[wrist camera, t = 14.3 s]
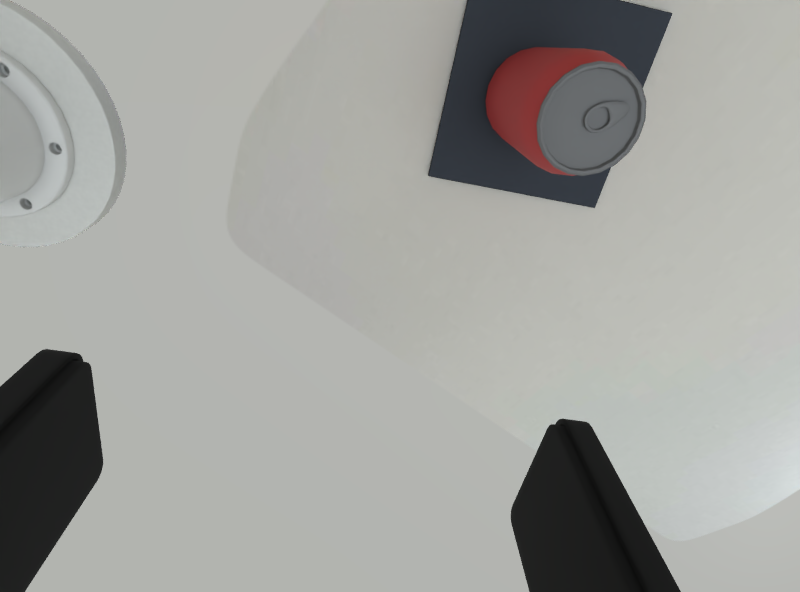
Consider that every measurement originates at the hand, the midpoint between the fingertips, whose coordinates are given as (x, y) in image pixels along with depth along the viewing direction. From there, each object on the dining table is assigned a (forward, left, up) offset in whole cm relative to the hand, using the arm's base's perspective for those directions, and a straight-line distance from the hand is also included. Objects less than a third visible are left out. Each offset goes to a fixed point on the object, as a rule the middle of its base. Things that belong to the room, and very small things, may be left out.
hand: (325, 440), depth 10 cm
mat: (+12, +6, -30) cm, 33 cm away
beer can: (+11, +6, -30) cm, 33 cm away
